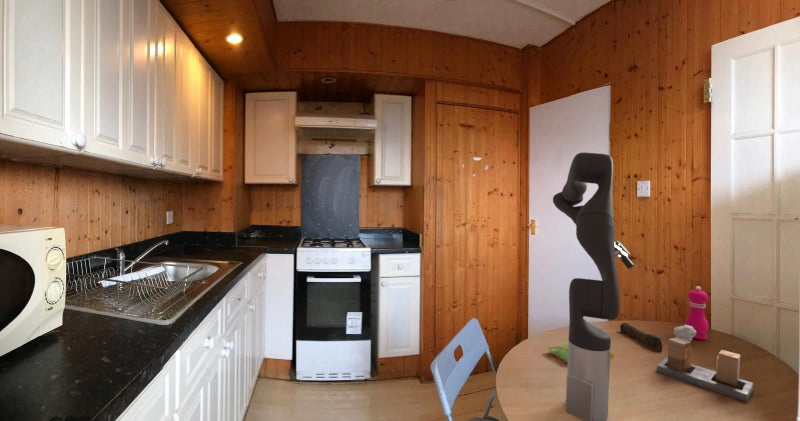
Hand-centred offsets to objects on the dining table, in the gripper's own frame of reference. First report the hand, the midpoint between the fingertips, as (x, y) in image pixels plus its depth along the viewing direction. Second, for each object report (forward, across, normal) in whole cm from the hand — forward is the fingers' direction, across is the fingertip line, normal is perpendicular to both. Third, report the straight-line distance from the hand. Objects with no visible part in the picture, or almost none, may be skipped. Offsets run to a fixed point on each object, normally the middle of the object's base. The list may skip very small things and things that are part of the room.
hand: (623, 268), depth 115 cm
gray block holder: (+35, +10, +8) cm, 37 cm away
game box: (+18, -11, +27) cm, 34 cm away
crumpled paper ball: (+22, +36, +22) cm, 47 cm away
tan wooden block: (+31, +8, +12) cm, 34 cm away
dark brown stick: (+17, +23, +27) cm, 39 cm away
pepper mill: (+20, +48, +23) cm, 57 cm away
